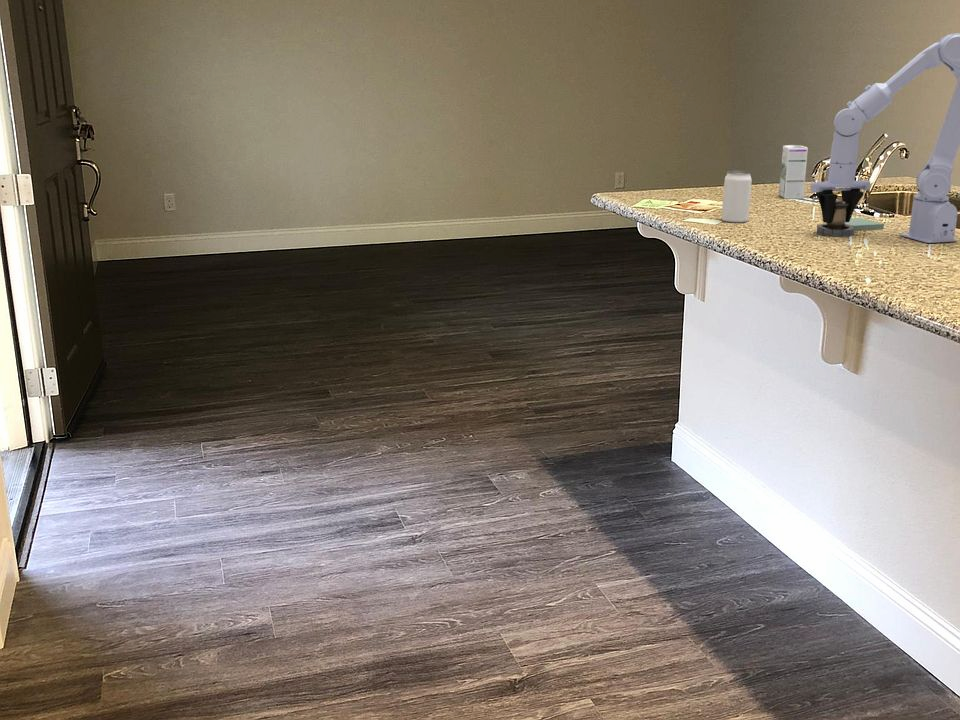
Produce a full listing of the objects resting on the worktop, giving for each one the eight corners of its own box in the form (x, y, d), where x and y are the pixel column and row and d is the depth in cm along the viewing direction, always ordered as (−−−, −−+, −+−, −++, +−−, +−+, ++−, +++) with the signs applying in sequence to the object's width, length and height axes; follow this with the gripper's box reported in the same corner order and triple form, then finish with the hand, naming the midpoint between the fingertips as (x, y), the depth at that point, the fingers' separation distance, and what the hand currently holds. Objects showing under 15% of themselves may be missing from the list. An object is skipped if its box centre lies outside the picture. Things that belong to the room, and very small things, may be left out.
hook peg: (849, 234, 226) (853, 201, 223) (832, 235, 224) (836, 202, 222) (837, 231, 230) (841, 198, 227) (820, 232, 229) (824, 199, 226)
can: (748, 223, 239) (753, 174, 235) (721, 222, 240) (725, 173, 236) (747, 219, 245) (751, 170, 241) (720, 218, 246) (724, 170, 242)
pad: (883, 228, 232) (884, 223, 232) (851, 230, 230) (851, 225, 230) (859, 222, 241) (859, 217, 240) (827, 224, 238) (828, 219, 238)
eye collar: (860, 235, 225) (861, 229, 224) (830, 237, 222) (831, 230, 222) (839, 229, 232) (839, 223, 231) (809, 231, 230) (810, 224, 229)
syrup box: (804, 199, 276) (809, 147, 271) (783, 199, 276) (788, 146, 271) (798, 196, 281) (803, 144, 276) (777, 196, 281) (782, 144, 276)
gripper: (859, 159, 228) (852, 217, 232) (805, 161, 224) (799, 220, 228) (878, 163, 221) (871, 222, 225) (823, 165, 217) (817, 225, 222)
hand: (836, 222), depth 226 cm, fingers closed on hook peg, 4 cm apart
